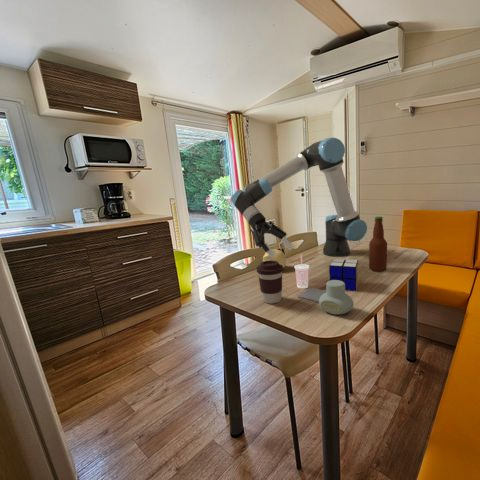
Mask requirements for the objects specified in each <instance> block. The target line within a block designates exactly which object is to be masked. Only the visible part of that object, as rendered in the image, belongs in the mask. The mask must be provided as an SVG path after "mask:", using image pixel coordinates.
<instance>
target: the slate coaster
mask: <svg viewBox="0 0 480 480" xmlns="http://www.w3.org/2000/svg"><path fill="white" fill-rule="evenodd" d="M324 293H326V290H324V289H320V288H314V287H309V288H308V289H306V290H305V291H303V292H302V293H300V294H298V295H297V298H298V299H301V300H306V301H310V302H312V303H313V302H314V303H317V304H319V299H320V297H321V296H322V295H323V294H324Z"/></svg>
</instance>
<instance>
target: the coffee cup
mask: <svg viewBox="0 0 480 480" xmlns="http://www.w3.org/2000/svg"><path fill="white" fill-rule="evenodd" d="M256 272H257V273H258V282H259V288H260V293H261V297H262V301H263V302H264V303H265V304H271V305H272V304H277V303H279V302H280V303H281V300H282V290H283V274H282V273H283V272H284V268H283V266H282V265H281V264H279V263H278V262H277V261H271V260H270V261H264V262H263V261H262V262H260V264H259V265H258V266H257V267H256Z"/></svg>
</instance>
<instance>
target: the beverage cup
mask: <svg viewBox="0 0 480 480" xmlns="http://www.w3.org/2000/svg"><path fill="white" fill-rule="evenodd" d="M294 269H295V270H294V271H295V279H296V287H297V288H298V289H307V288H308V287H309V270H310V265H309V264H305V263H303V254H300V263H299V264H295V265H294Z"/></svg>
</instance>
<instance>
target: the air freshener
mask: <svg viewBox="0 0 480 480" xmlns="http://www.w3.org/2000/svg"><path fill="white" fill-rule="evenodd" d="M325 285H326V286H325V288H326V289H325V291H326V293H324V294H323V295H322V296H321V297H320V299H319V303H318V305H319V306H320V308H321V309H322V310H323V311H324V312H327V313H329V314H331V315H344V314H347V313H348V312H350V311H352V309H353V307H354V300H353V299H352V297H351V296H350V295H349V294H347V293H346V290H345V283H344V282H342V281H339V280H330V279H329V280H328V281H326V283H325Z"/></svg>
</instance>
